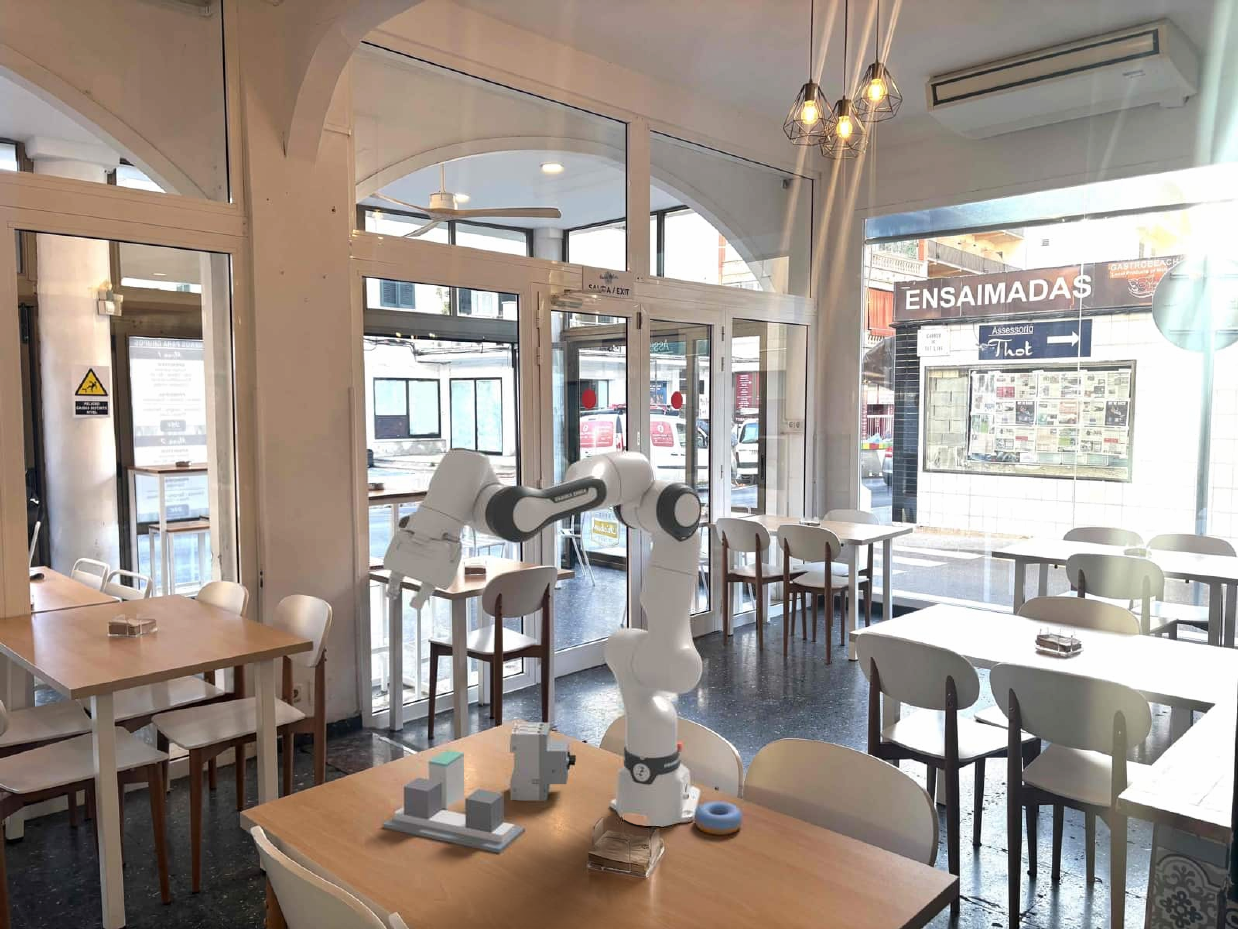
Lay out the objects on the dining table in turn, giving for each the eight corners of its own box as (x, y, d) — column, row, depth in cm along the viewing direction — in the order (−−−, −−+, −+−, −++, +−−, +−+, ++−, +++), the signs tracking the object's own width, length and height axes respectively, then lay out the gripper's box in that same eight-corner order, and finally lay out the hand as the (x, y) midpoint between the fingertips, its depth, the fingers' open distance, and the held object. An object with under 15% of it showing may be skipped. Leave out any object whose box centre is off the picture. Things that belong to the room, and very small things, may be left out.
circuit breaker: (574, 801, 198) (574, 734, 197) (510, 800, 198) (509, 734, 197) (576, 786, 205) (576, 723, 204) (514, 786, 205) (514, 722, 205)
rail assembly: (411, 808, 194) (411, 770, 193) (524, 831, 183) (524, 792, 183) (382, 827, 185) (382, 788, 184) (500, 853, 174) (499, 811, 173)
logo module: (429, 805, 195) (428, 761, 195) (447, 793, 202) (446, 750, 201) (446, 809, 193) (446, 764, 193) (464, 796, 200) (463, 753, 199)
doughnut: (737, 839, 179) (736, 816, 179) (689, 834, 182) (688, 812, 183) (746, 823, 189) (746, 801, 189) (700, 819, 192) (700, 797, 192)
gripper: (479, 545, 152) (445, 621, 149) (422, 530, 168) (391, 599, 165) (450, 531, 149) (415, 608, 145) (395, 517, 164) (362, 587, 161)
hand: (402, 603), depth 155 cm, fingers open, 8 cm apart
